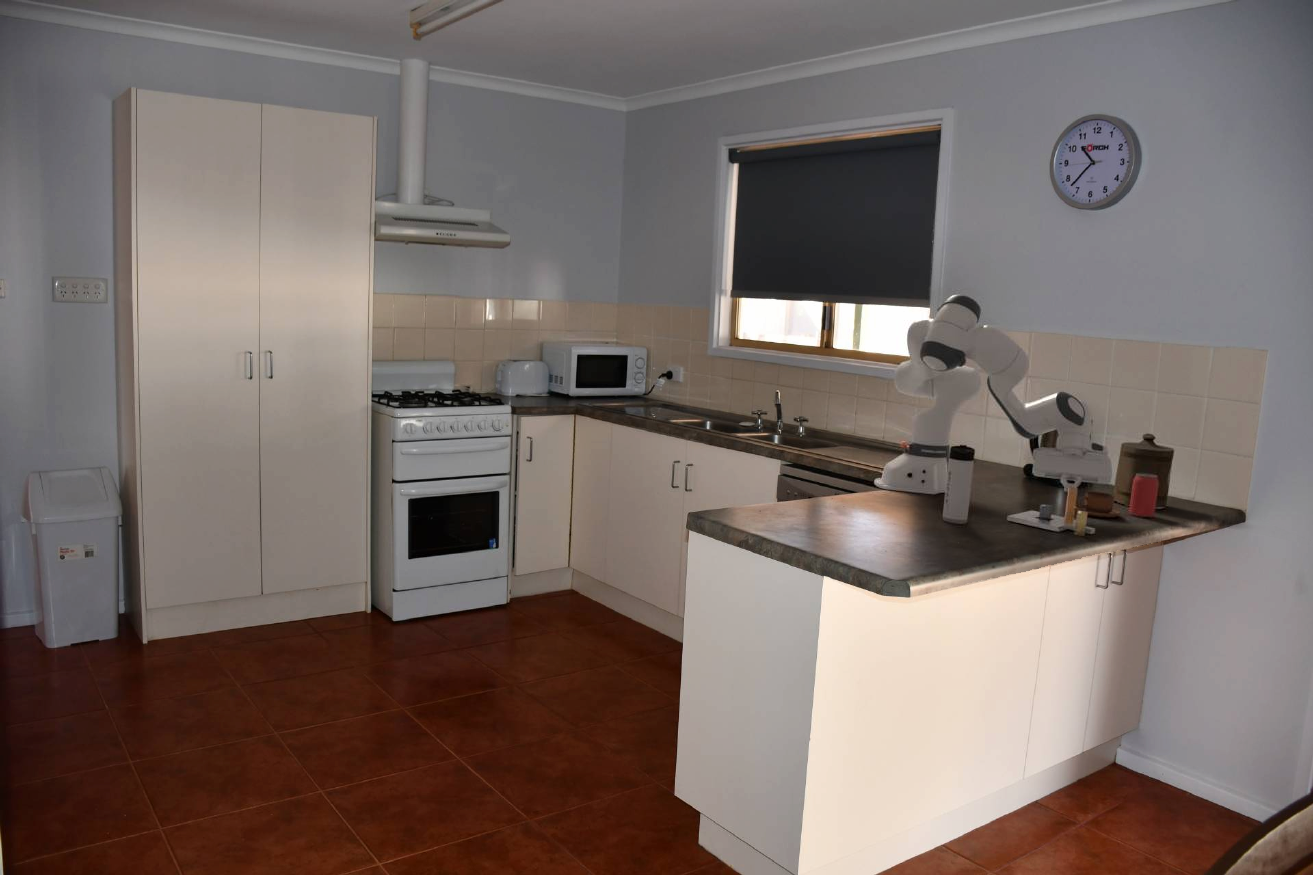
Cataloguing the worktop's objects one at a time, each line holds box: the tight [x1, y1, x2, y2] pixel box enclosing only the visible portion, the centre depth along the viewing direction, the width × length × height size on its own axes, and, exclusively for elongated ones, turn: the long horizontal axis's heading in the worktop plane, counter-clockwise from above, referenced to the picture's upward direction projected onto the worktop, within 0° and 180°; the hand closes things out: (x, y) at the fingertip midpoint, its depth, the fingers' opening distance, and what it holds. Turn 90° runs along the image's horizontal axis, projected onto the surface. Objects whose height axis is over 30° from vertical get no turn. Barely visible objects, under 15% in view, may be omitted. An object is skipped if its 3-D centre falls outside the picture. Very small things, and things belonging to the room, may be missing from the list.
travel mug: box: [942, 444, 976, 525], centre depth 259 cm, size 6×7×20 cm
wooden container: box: [1112, 433, 1175, 508], centre depth 300 cm, size 15×15×22 cm
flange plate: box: [1006, 487, 1096, 535], centre depth 261 cm, size 20×14×10 cm
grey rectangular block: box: [1038, 504, 1053, 521], centre depth 264 cm, size 3×3×5 cm
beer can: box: [1128, 473, 1159, 518], centre depth 283 cm, size 7×7×12 cm
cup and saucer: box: [1075, 491, 1122, 519], centre depth 281 cm, size 12×12×6 cm
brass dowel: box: [1074, 510, 1088, 537], centre depth 253 cm, size 2×2×6 cm
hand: (1070, 490), depth 268 cm, fingers closed
